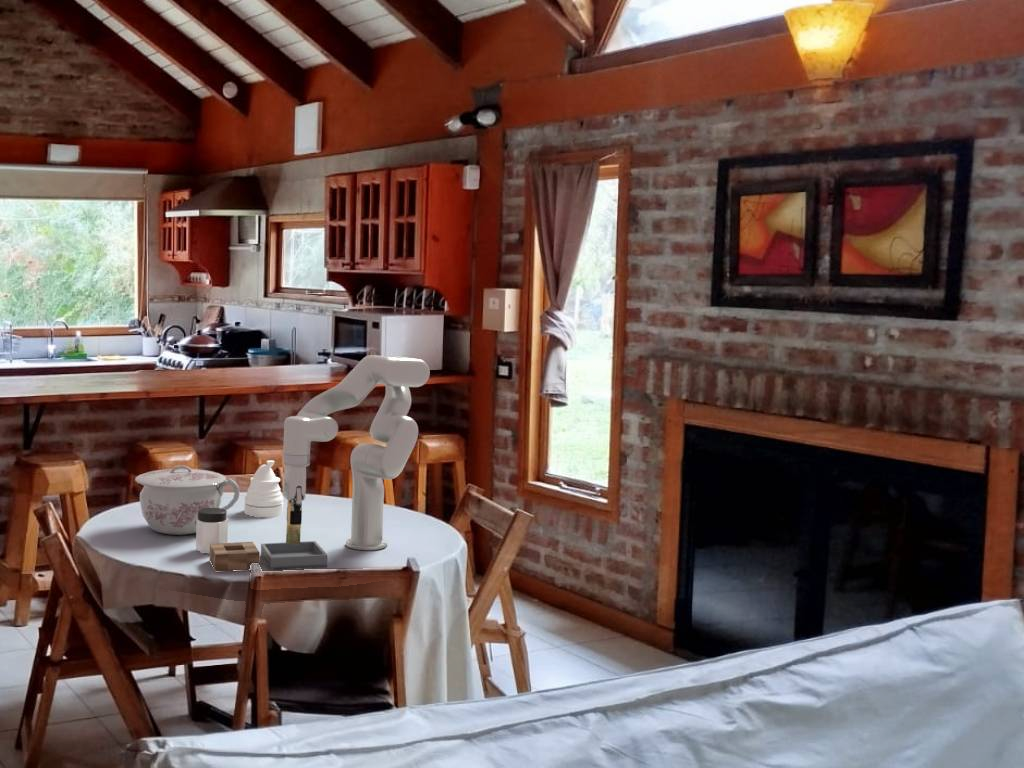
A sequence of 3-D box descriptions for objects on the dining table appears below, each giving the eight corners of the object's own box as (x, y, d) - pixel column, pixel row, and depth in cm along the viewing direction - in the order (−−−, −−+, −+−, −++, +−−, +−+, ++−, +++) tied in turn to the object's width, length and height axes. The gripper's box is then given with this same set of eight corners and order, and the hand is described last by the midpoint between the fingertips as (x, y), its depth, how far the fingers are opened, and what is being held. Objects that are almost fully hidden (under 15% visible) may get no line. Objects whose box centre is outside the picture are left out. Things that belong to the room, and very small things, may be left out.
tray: (260, 555, 337) (261, 543, 337) (315, 552, 343) (315, 541, 343) (270, 570, 323) (270, 558, 322) (327, 567, 329) (327, 555, 328)
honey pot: (287, 510, 396) (289, 458, 394) (276, 518, 383) (277, 465, 381) (251, 507, 397) (252, 456, 395) (238, 516, 384) (240, 462, 382)
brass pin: (284, 541, 333) (286, 501, 332) (298, 541, 335) (300, 500, 333) (287, 545, 330) (289, 504, 328) (301, 544, 331) (303, 503, 330)
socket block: (209, 560, 329) (209, 543, 328) (252, 558, 333) (252, 541, 333) (215, 572, 318) (215, 554, 317) (259, 569, 322) (259, 552, 322)
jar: (209, 545, 345) (209, 506, 344) (232, 549, 343) (233, 509, 341) (190, 552, 337) (191, 511, 336) (213, 556, 334) (214, 515, 333)
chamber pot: (114, 531, 356) (115, 465, 353) (179, 515, 380) (180, 453, 378) (183, 546, 343) (184, 477, 341) (245, 529, 367) (246, 465, 365)
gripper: (277, 454, 336) (275, 516, 338) (288, 465, 320) (286, 529, 322) (303, 454, 339) (300, 515, 341) (315, 465, 323) (313, 529, 325)
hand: (293, 522), depth 331 cm, fingers closed on brass pin, 4 cm apart
